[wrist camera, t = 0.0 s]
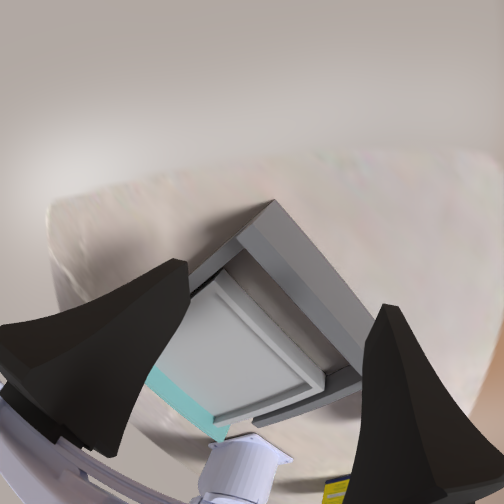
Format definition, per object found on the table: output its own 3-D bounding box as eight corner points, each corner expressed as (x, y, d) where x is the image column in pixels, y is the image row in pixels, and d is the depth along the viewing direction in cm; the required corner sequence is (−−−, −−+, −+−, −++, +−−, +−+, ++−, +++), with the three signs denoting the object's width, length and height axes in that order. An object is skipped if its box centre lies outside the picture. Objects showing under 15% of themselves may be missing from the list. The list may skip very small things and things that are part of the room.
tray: (227, 422, 31) (218, 442, 28) (126, 332, 29) (110, 349, 26) (334, 383, 24) (332, 409, 21) (211, 255, 22) (193, 272, 19)
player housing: (263, 410, 28) (249, 454, 23) (153, 307, 26) (117, 344, 21) (396, 349, 21) (406, 401, 16) (274, 199, 20) (252, 223, 14)
